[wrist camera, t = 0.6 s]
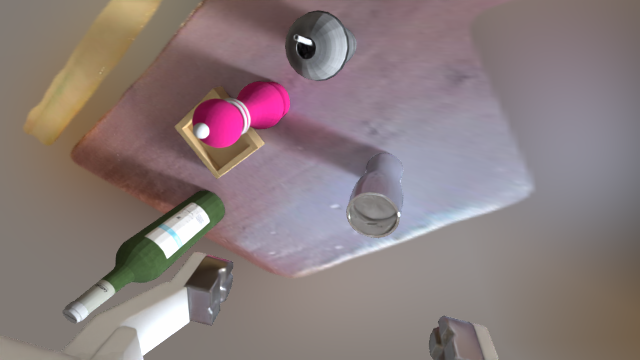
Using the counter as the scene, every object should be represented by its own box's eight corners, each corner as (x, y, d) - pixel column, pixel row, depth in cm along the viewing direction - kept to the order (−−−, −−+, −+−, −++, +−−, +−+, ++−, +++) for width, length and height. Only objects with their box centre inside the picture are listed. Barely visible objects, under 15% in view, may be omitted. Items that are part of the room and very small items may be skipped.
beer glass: (410, 184, 49) (407, 236, 36) (370, 191, 52) (353, 242, 39) (400, 145, 47) (393, 186, 34) (358, 155, 49) (337, 196, 37)
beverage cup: (308, 50, 45) (238, 57, 28) (337, 5, 41) (278, -19, 24) (344, 82, 45) (298, 108, 28) (376, 40, 42) (345, 40, 24)
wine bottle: (190, 206, 67) (44, 312, 41) (200, 182, 63) (46, 283, 37) (218, 227, 67) (90, 346, 41) (230, 204, 63) (98, 320, 37)
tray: (221, 86, 52) (213, 88, 50) (264, 143, 54) (258, 148, 52) (183, 123, 57) (174, 127, 55) (223, 174, 60) (216, 179, 58)
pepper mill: (287, 127, 51) (220, 172, 34) (250, 112, 52) (167, 148, 35) (297, 87, 48) (228, 114, 30) (258, 71, 49) (169, 89, 31)
